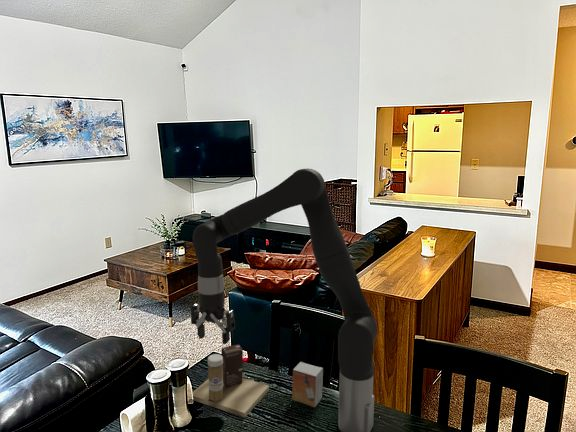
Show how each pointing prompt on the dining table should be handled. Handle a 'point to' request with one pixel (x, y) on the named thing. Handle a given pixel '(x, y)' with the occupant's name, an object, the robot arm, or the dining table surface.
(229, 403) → the plywood panel
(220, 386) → the sprinkles bottle
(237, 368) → the box
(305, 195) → the robot arm
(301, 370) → the small box
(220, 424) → the dining table surface
